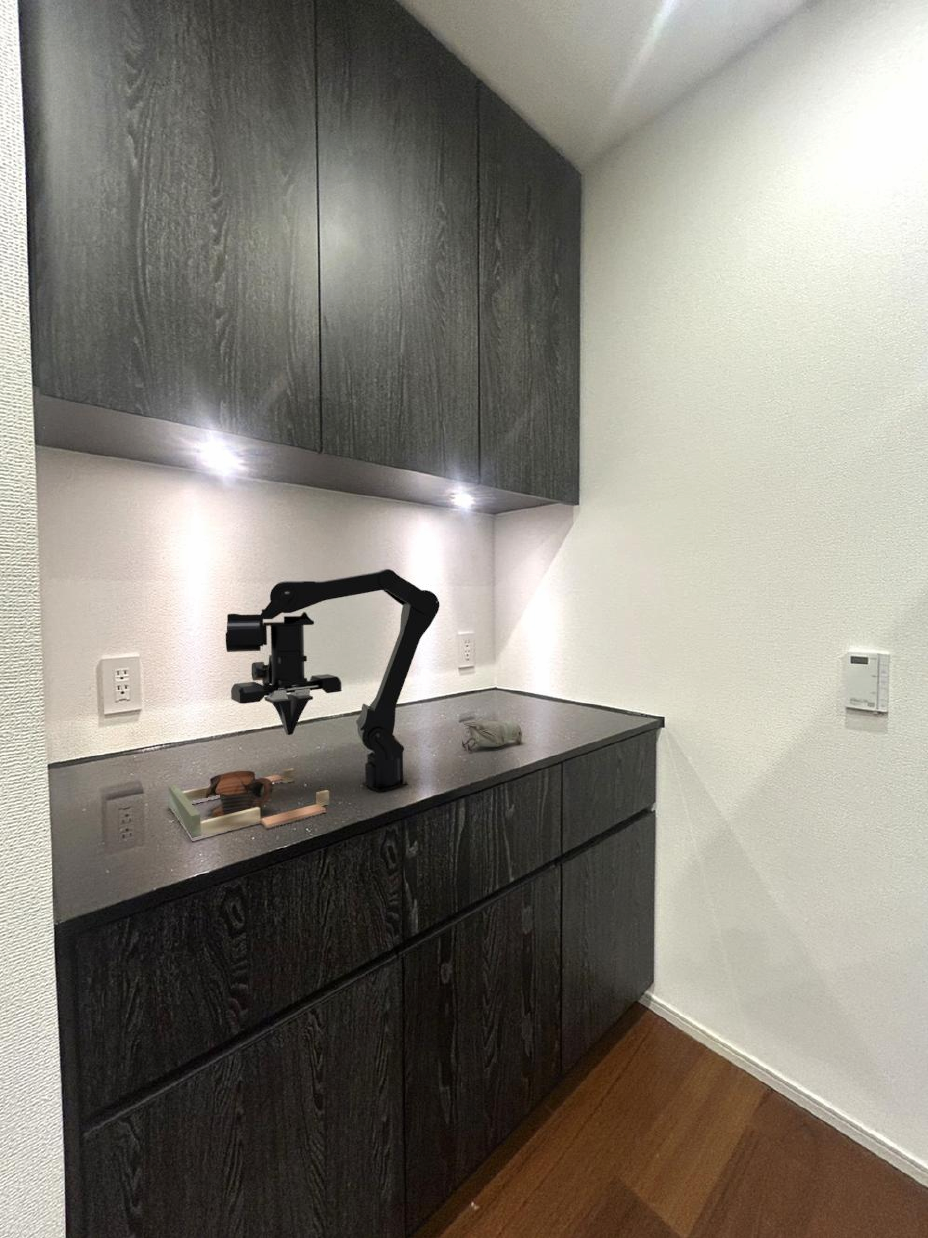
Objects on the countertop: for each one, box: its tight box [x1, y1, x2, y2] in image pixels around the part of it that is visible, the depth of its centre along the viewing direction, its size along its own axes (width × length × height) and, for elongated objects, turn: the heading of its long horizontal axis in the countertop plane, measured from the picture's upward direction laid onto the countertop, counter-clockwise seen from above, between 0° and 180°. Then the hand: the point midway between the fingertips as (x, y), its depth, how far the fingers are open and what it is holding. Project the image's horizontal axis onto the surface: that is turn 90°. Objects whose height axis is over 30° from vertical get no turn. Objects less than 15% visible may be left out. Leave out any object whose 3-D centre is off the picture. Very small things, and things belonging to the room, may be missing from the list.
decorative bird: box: [460, 720, 523, 752], centre depth 131 cm, size 5×16×7 cm, turn 118°
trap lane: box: [168, 767, 330, 838], centre depth 96 cm, size 22×23×4 cm
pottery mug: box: [205, 770, 274, 818], centre depth 94 cm, size 12×10×8 cm
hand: (289, 734), depth 100 cm, fingers closed
